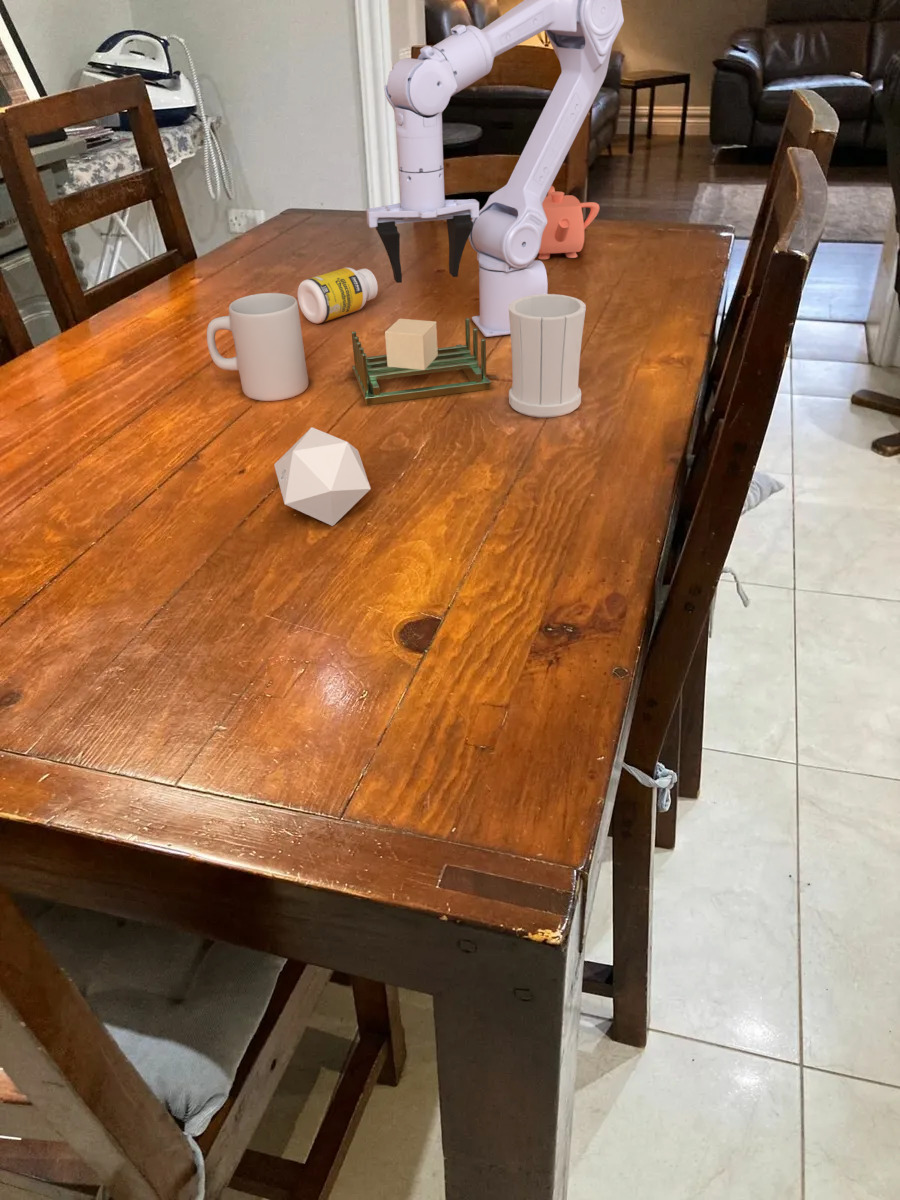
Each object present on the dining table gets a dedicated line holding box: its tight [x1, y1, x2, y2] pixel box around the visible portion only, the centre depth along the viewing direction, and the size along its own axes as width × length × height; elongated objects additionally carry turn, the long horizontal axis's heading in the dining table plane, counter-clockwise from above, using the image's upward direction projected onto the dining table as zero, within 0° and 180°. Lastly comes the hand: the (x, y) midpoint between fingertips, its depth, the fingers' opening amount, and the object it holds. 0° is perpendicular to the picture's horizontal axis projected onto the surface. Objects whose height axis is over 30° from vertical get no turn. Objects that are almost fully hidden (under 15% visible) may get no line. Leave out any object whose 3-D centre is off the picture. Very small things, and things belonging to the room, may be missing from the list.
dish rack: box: [351, 317, 492, 406], centre depth 119 cm, size 16×11×6 cm
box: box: [384, 318, 438, 370], centre depth 118 cm, size 5×5×4 cm
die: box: [273, 426, 372, 527], centre depth 92 cm, size 8×9×10 cm
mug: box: [206, 292, 310, 402], centre depth 118 cm, size 12×8×11 cm
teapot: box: [537, 185, 600, 260], centre depth 163 cm, size 14×12×10 cm
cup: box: [508, 293, 587, 419], centre depth 111 cm, size 10×9×12 cm
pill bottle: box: [297, 267, 379, 325], centre depth 141 cm, size 6×6×12 cm
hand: (425, 277), depth 126 cm, fingers open, 7 cm apart
